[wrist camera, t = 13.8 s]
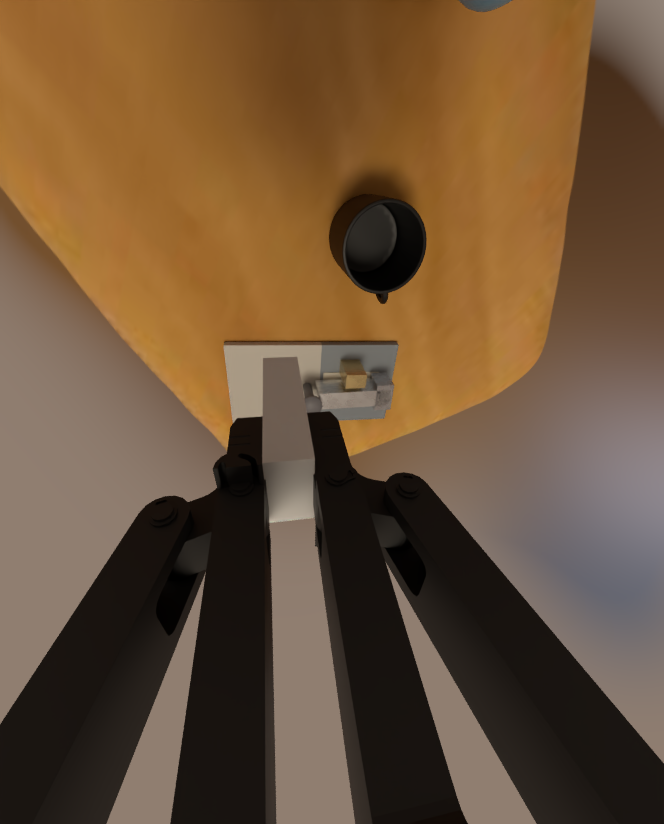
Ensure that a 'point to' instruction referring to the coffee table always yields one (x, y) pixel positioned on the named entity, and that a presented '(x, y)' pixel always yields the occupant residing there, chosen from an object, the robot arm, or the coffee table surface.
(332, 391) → the bar
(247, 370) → the door board
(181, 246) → the coffee table surface
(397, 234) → the mug
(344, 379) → the block
